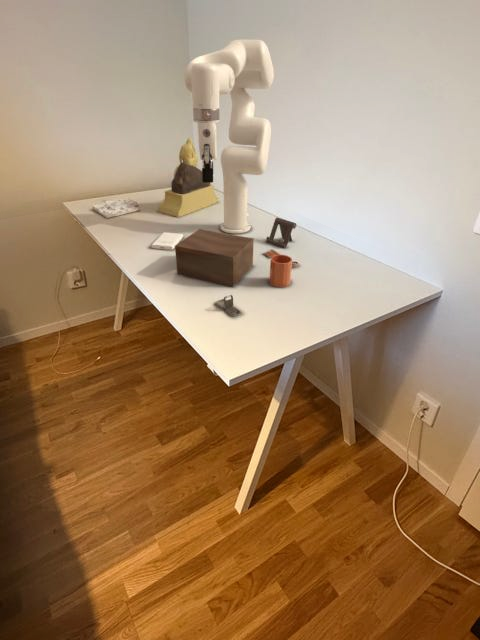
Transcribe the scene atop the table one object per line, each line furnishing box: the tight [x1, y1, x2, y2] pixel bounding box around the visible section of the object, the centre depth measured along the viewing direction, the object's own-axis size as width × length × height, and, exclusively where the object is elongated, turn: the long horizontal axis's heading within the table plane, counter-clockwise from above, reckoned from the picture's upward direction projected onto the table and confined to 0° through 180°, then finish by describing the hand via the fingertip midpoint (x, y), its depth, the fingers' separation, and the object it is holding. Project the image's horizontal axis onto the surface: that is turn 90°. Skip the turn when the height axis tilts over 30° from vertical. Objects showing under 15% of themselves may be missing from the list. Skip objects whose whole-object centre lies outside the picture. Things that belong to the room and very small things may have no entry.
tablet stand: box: [265, 217, 297, 249], centre depth 146 cm, size 9×8×8 cm
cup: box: [268, 254, 293, 288], centre depth 119 cm, size 6×6×8 cm
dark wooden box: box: [174, 228, 255, 288], centre depth 125 cm, size 16×20×10 cm
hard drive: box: [151, 231, 184, 251], centre depth 146 cm, size 2×8×12 cm
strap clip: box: [215, 294, 241, 317], centre depth 107 cm, size 8×3×4 cm, turn 37°
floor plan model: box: [92, 197, 140, 219], centre depth 181 cm, size 19×25×2 cm
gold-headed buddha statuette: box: [157, 137, 219, 218], centre depth 175 cm, size 28×13×30 cm, turn 144°
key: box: [263, 249, 299, 268], centre depth 135 cm, size 6×1×15 cm
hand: (208, 178), depth 118 cm, fingers open, 9 cm apart
